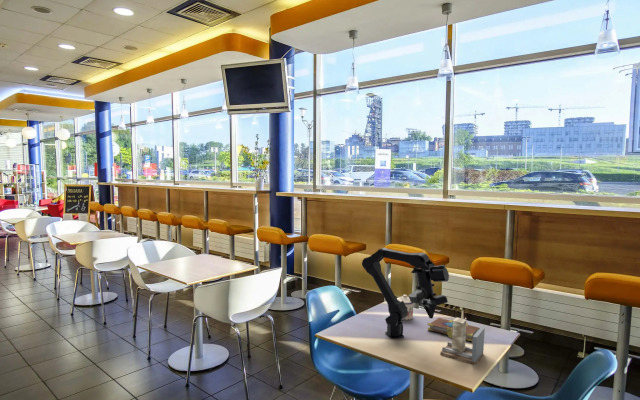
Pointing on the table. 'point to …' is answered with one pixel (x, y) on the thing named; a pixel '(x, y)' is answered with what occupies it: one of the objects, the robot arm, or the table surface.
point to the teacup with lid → (408, 305)
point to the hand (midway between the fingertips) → (431, 318)
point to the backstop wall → (478, 344)
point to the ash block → (459, 334)
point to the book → (451, 328)
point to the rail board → (459, 353)
